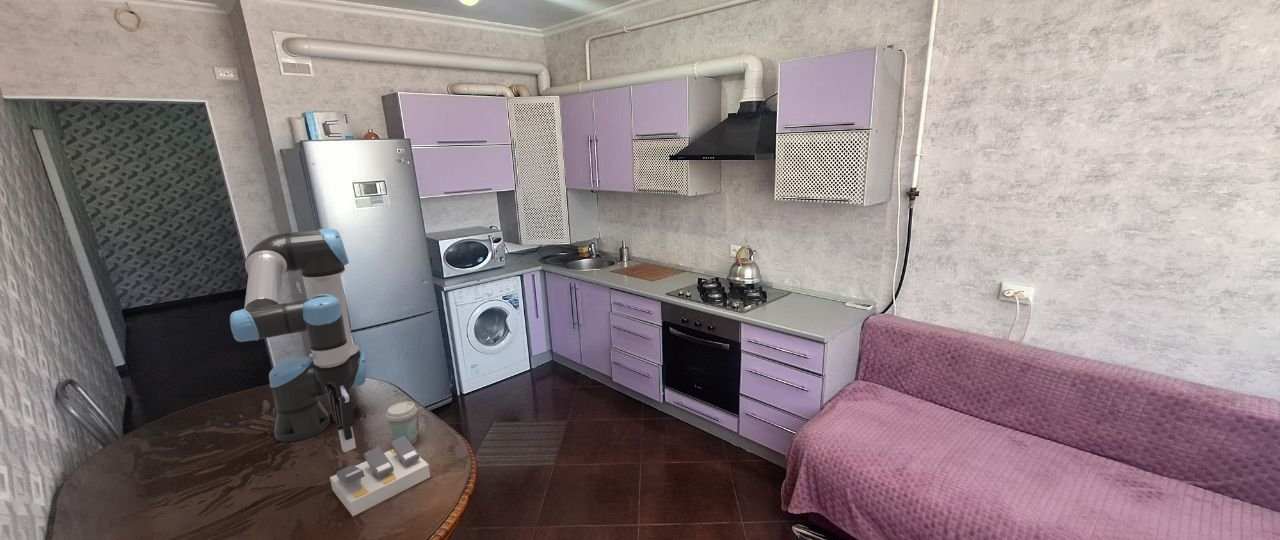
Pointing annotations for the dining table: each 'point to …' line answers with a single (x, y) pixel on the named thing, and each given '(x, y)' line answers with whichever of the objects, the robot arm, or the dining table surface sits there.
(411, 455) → the switch
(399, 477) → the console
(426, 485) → the dining table surface
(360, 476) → the switch
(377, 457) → the switch
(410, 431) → the coffee cup
